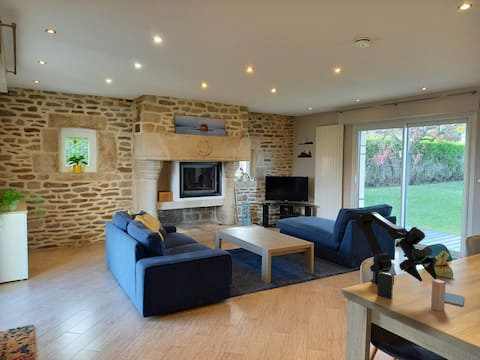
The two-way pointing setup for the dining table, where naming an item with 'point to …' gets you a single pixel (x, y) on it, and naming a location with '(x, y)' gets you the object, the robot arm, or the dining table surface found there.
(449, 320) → the dining table surface
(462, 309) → the dining table surface
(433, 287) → the block
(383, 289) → the battery charger
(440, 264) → the chocolate bunny
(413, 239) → the robot arm
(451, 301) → the mat
